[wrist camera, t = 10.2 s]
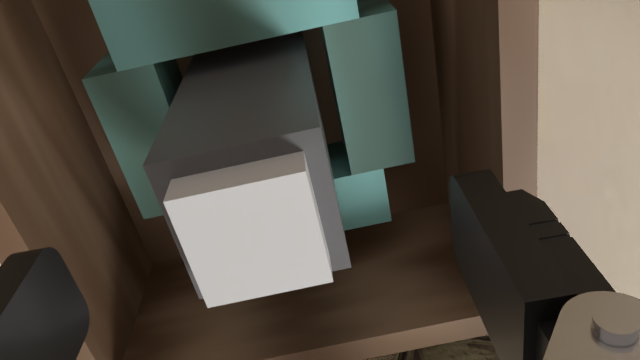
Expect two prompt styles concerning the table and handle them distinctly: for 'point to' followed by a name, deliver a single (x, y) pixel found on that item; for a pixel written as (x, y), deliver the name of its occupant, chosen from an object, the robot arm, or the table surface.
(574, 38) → the table surface
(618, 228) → the table surface
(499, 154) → the walled box
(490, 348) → the tabletop clock
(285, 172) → the block
